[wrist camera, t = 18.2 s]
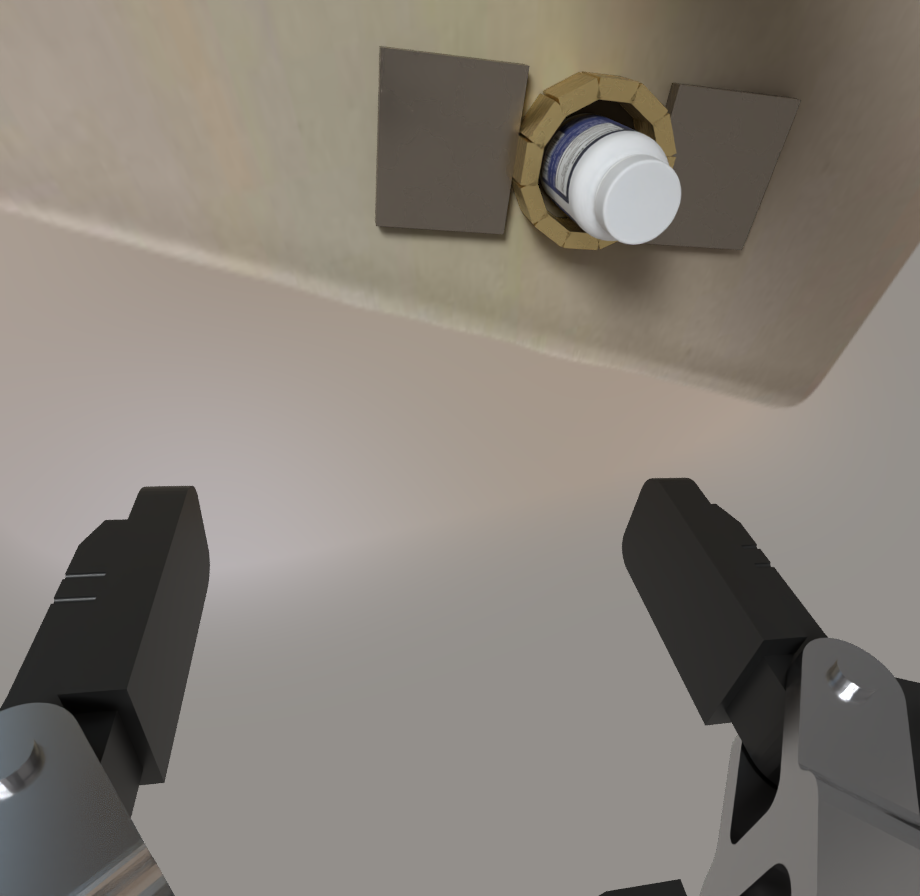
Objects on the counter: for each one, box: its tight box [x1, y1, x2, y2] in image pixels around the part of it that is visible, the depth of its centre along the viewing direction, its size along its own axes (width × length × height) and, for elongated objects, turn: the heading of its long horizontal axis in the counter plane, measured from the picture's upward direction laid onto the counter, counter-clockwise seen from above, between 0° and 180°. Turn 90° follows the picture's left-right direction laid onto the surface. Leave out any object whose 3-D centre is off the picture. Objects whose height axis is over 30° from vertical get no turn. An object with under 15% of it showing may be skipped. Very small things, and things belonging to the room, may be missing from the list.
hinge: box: [375, 46, 801, 250], centre depth 35 cm, size 9×25×3 cm, turn 84°
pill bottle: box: [539, 113, 681, 245], centre depth 32 cm, size 5×5×10 cm
